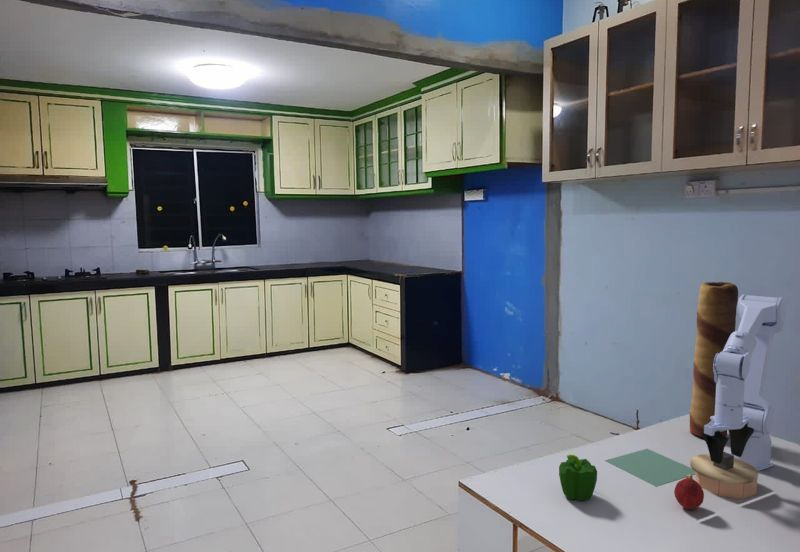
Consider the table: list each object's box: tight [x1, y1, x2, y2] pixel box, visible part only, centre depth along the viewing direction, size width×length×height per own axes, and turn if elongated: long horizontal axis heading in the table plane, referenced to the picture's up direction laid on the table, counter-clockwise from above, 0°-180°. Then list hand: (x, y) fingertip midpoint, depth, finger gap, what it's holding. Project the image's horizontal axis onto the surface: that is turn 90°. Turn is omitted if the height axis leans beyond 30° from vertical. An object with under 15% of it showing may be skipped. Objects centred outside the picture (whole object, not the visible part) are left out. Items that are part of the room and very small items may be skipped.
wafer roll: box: [689, 281, 739, 439], centre depth 163 cm, size 10×11×45 cm
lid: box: [689, 451, 759, 484], centre depth 134 cm, size 14×14×4 cm
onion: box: [673, 474, 705, 511], centre depth 124 cm, size 6×6×8 cm
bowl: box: [694, 471, 758, 499], centre depth 134 cm, size 12×12×4 cm
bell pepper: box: [558, 454, 598, 502], centre depth 130 cm, size 8×8×10 cm
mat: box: [604, 448, 695, 488], centre depth 145 cm, size 16×16×1 cm
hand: (726, 458), depth 134 cm, fingers open, 7 cm apart
